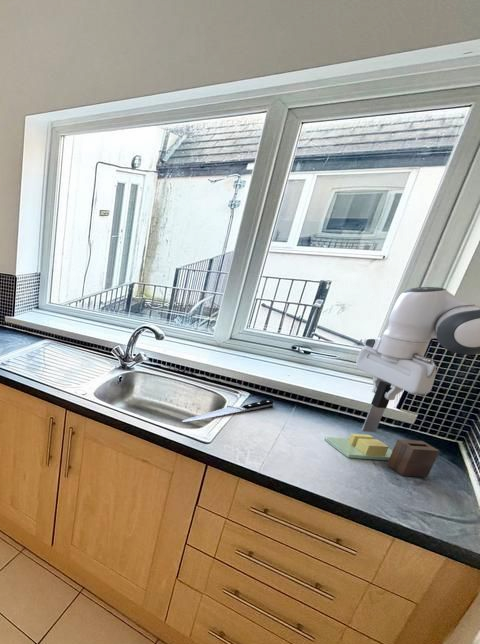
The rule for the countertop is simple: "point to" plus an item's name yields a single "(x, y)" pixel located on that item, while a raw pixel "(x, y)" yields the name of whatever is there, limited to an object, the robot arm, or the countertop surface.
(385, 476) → the countertop surface
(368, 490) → the countertop surface
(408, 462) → the knife block
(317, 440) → the countertop surface
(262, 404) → the steak knife
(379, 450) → the butter block
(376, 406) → the knife
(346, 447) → the butter dish
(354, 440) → the butter slice
